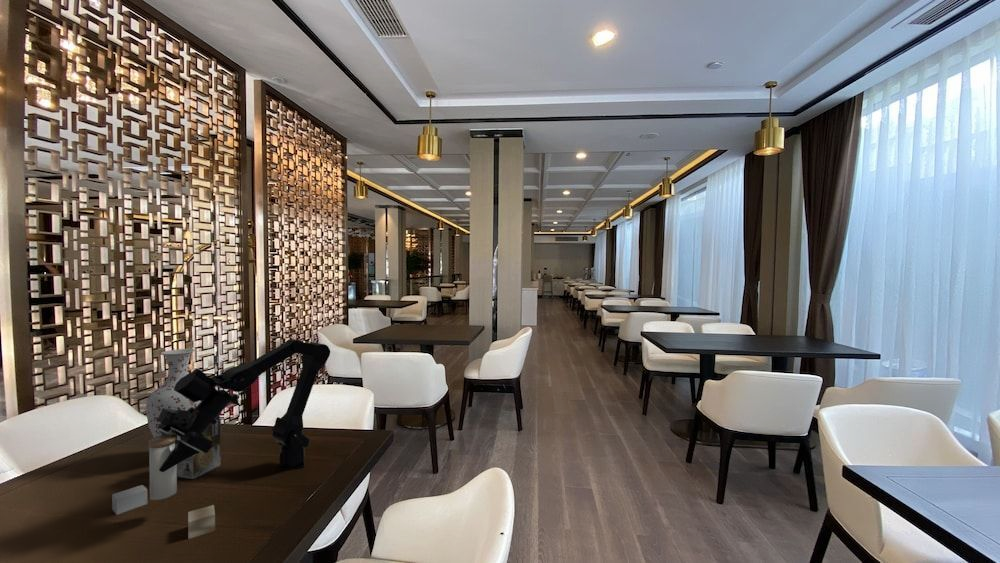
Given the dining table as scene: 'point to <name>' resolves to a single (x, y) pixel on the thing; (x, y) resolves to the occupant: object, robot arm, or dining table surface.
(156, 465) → the ceramic jar
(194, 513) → the birch block
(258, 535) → the dining table surface
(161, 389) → the vase
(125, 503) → the grey block
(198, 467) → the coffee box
